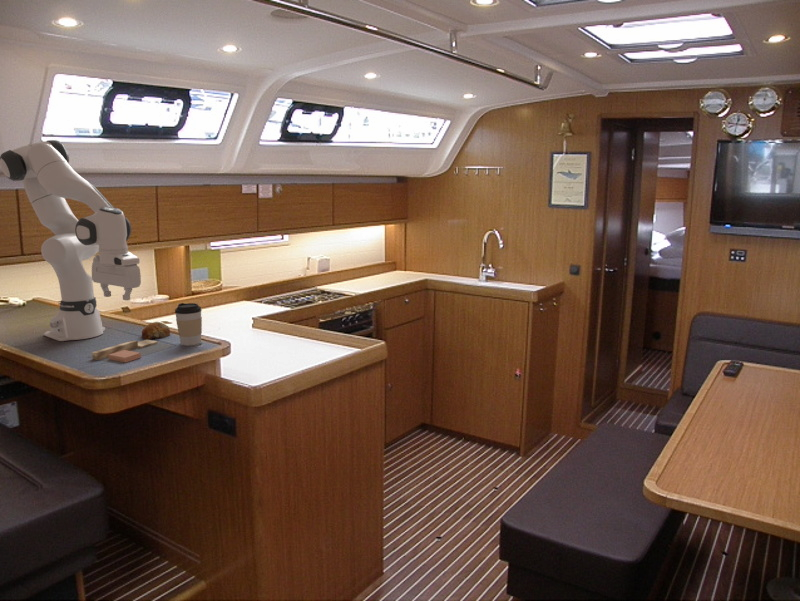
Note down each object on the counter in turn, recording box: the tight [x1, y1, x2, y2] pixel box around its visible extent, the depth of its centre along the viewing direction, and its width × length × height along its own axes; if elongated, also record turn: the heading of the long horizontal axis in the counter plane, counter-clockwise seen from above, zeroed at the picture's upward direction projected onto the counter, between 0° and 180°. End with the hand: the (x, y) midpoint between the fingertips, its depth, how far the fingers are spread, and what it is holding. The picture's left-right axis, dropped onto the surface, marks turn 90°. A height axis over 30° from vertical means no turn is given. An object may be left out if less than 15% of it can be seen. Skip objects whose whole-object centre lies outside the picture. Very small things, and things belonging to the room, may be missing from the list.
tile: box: [109, 350, 142, 363], centre depth 211 cm, size 2×6×8 cm
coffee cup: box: [174, 302, 203, 348], centre depth 227 cm, size 9×9×15 cm
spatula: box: [91, 339, 159, 361], centre depth 220 cm, size 23×6×2 cm, turn 151°
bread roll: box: [141, 321, 171, 341], centre depth 239 cm, size 10×10×8 cm
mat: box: [88, 342, 177, 365], centre depth 219 cm, size 16×23×1 cm
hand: (117, 298), depth 216 cm, fingers open, 8 cm apart
